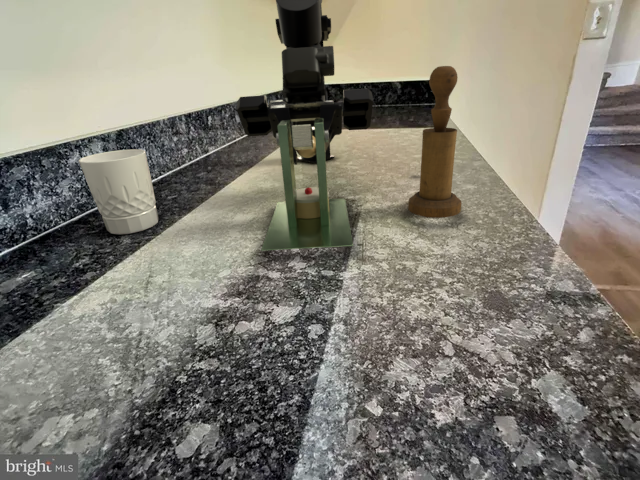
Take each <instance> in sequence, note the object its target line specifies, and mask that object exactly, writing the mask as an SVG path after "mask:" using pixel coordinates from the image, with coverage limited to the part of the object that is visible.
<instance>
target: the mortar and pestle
mask: <svg viewBox="0 0 640 480" xmlns="http://www.w3.org/2000/svg"><path fill="white" fill-rule="evenodd" d="M458 79H459V78H458V72H457V70H456V68H454V67H453V66H451V65H439V66H437V67H435V68H434V69H433V70H432V72H431V73H430V76H429V79H428V83H429V84H428V85H429V87H430V89H431V92H432V94H433V96H434V98H435V99H434V100H435V103H434V107H432V108H431V109H430V113H431V118H432V124H433V127H430V128H424V129H422V137H421V139H422V143H421V158H420V159H421V161H420V162H421V163H420V176H419V178H420V179H419V191H417V192H415V193H414V194H413V195H412V196H410V197H409V198H408V201H407V202H408V203H407V209H408V211H409V212H410V213H412V214H414V215H417V216H419V217H424V218H437V219H438V218H439V219H440V218H449V217H454V216H457V215H459V214H460V213H461V211H462V200H461V199H460V198H459V197H458V196H457V194H455V193H454V192H452V190H453V176H454V165H455V155H456V145H457V136H458V129H457V128H453V127H447V126H448V124H449V121H450V118H451V115H452V110H453V108H452V107H451V106H450V105H449V104H450V103H449V100H450V96H451V94H452V92H453V91H454V89H455V87H456V85H457V83H458Z"/></svg>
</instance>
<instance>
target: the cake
mask: <svg viewBox="0 0 640 480" xmlns="http://www.w3.org/2000/svg"><path fill="white" fill-rule="evenodd" d="M296 192H297V198H296V202H297V212H298V218H301V219H313V218H318V217H320V203H319V188H318V187H302V188H297V189H296ZM327 192H328V211H329V199H330V198H329V197H330V191H329V190H328V189H327Z"/></svg>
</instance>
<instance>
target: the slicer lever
mask: <svg viewBox="0 0 640 480" xmlns="http://www.w3.org/2000/svg"><path fill="white" fill-rule="evenodd" d="M312 127H313V126H311V124H309V125H293V124H292V142H293V148H294V149H295V150H296V152H297V155H299V157H301V156H302V157H304V158H310V157H312V156H314V155H315V154H316V142H315V137H314V136H313V135H312Z"/></svg>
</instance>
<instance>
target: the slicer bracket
mask: <svg viewBox="0 0 640 480" xmlns="http://www.w3.org/2000/svg"><path fill="white" fill-rule="evenodd" d="M313 127H315V142H316V157H317V163H316V170H317V173H316V174H317V186H318V187H317V188H319V203H320V217H318V218H313V219H301V218H298V212H297V202H296V198H297V192H296V190H297V184H296V183H297V182H296V172H295V165H294V159H293V148H292V138H291V127H290V120H282V121H281V122H280V123H279V125H278V133H276V138H275V141H276V145H277V146H279V152H280V162H281V170H282V179H283V190H284V199H285V201H277V203H276V206H275V208H274V212H273V215H272V217H271V220H270V223H269V227H268V228H267V232H266V235H265V238H264V241H263V244H262V247H261V250H260V251H264V252H265V251H281V250H299V249H318V248H338V247H354V241H353V237H352V231H351V225H350V219H349V214H348V208H347V202H346V198H345V197H344V198H343V197H342V198H329V211H328V192H327V190H328V179H327V178H328V177H327V160H326V156H325V143H326V142H329V133H328V130H324V120H323V118H316V119H315V123H314V126H313Z"/></svg>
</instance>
